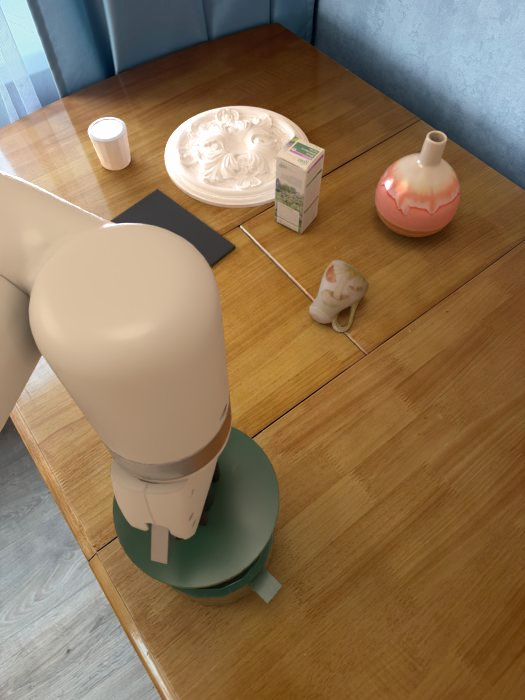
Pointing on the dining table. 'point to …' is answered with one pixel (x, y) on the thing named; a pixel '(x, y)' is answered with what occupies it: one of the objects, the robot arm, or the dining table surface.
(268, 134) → the ceiling medallion
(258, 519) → the lid
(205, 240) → the mat
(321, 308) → the mug
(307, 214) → the syrup box
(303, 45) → the dining table surface
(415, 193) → the vase
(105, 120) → the white lidded cup
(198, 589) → the pot
